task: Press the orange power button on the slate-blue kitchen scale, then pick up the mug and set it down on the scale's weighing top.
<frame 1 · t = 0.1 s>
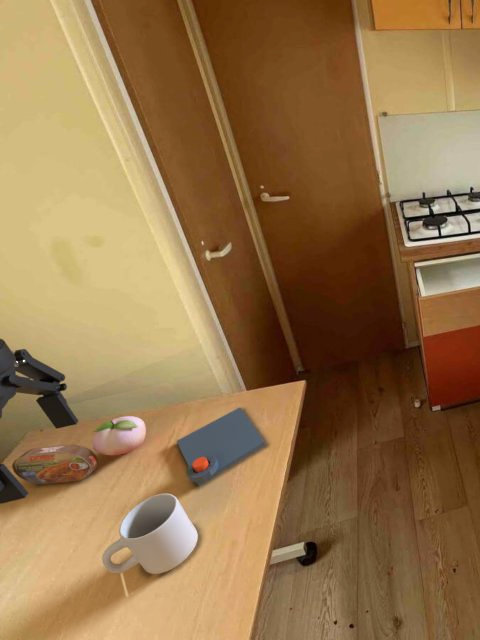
hand: (43, 458, 66), 29 cm above the table, tool pointing down, fingers open, 13 cm apart
scale button: (200, 464, 93), point 4 cm above the table, slide at 0.1 cm
mug: (161, 557, 79), on the table
tin: (66, 476, 94), on the table
scale: (222, 445, 101), on the table
decorative fruit: (130, 450, 100), on the table
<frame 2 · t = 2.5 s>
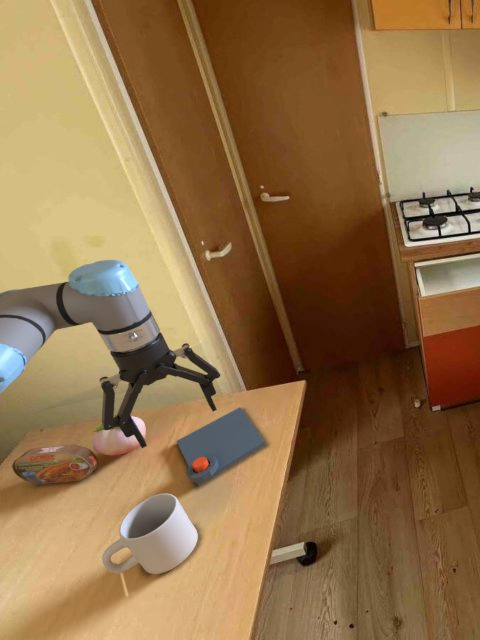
hand: (179, 424, 87), 16 cm above the table, tool pointing down, fingers open, 11 cm apart
nothing on the table moved.
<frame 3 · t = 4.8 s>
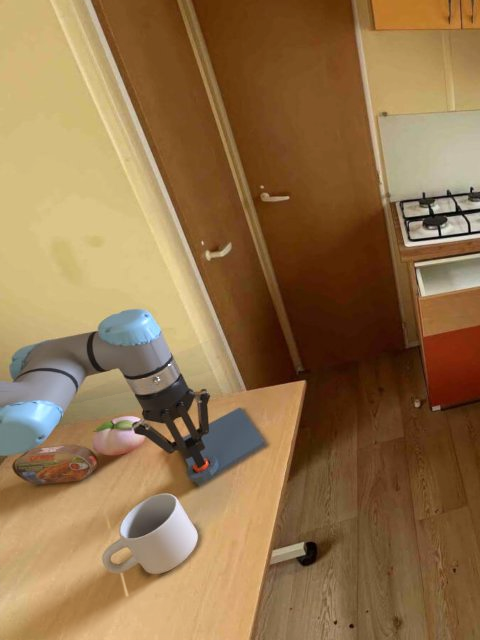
hand: (200, 462, 92), 4 cm above the table, tool pointing down, fingers closed
scale button: (201, 465, 93), point 3 cm above the table, slide at -0.3 cm, touching gripper
everything else where it was.
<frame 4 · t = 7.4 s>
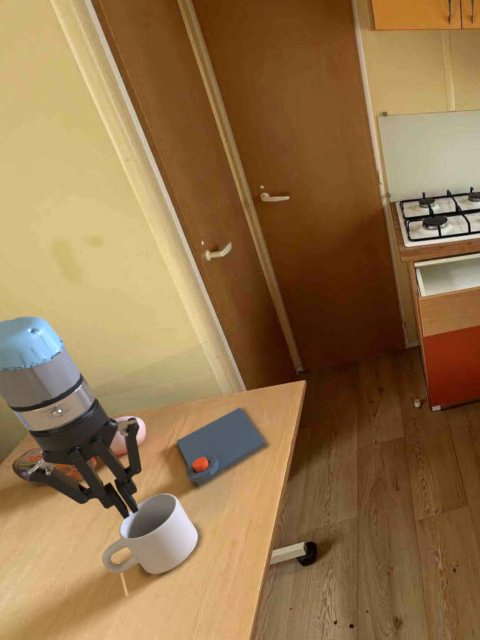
hand: (129, 509, 73), 14 cm above the table, tool pointing down, fingers closed
scale button: (200, 464, 93), point 4 cm above the table, slide at 0.1 cm
everything else where it was.
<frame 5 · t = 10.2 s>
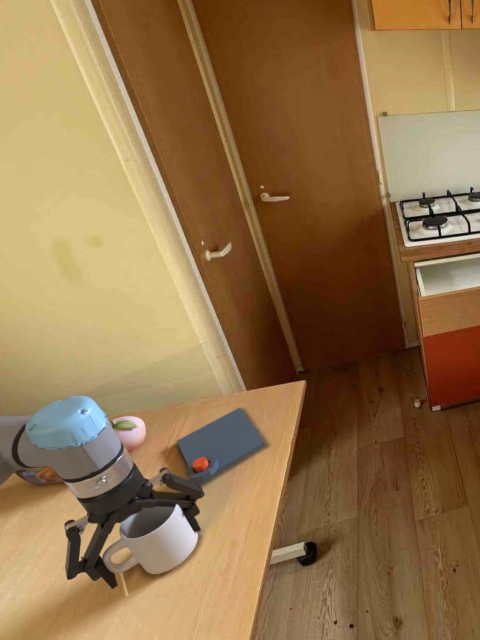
hand: (157, 552, 79), 2 cm above the table, tool pointing down, fingers closed on mug, 12 cm apart
mug: (161, 557, 79), on the table, touching gripper
everything else where it was.
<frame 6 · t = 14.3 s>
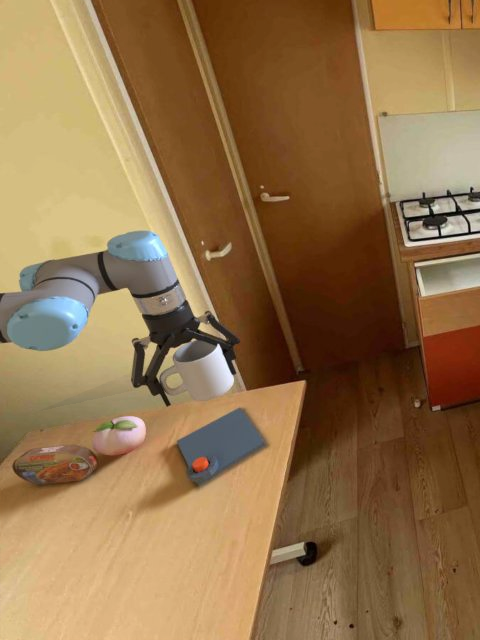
hand: (201, 386, 94), 18 cm above the table, tool pointing down, fingers closed on mug, 12 cm apart
mug: (204, 392, 95), point 16 cm above the table, touching gripper
everything else where it was.
when the fingers open (3 cm above the table, at t = 18.5 s): mug stays where it is, resting on scale.
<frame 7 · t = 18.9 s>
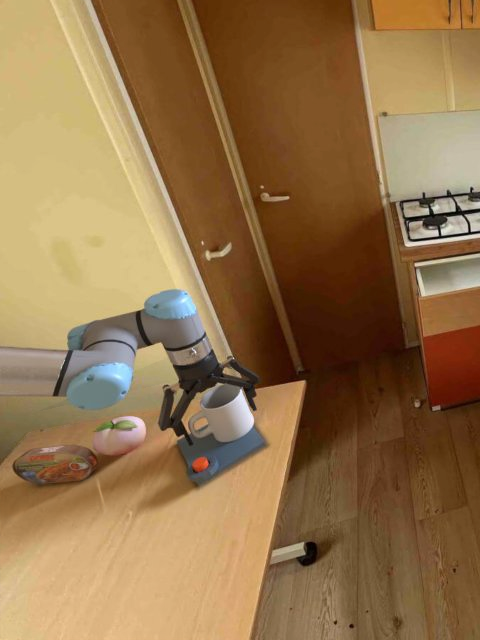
hand: (223, 424, 101), 4 cm above the table, tool pointing down, fingers open, 13 cm apart
mug: (227, 433, 103), point 1 cm above the table, touching scale
everything else where it was.
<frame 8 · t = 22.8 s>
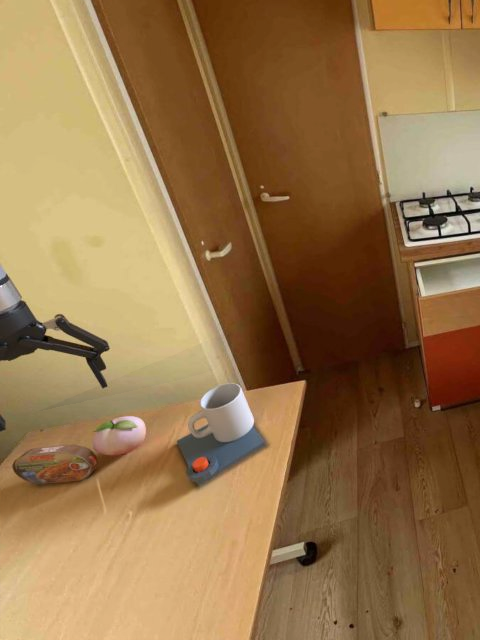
hand: (56, 404, 78), 27 cm above the table, tool pointing down, fingers open, 13 cm apart
nothing on the table moved.
at the end: scale button pushed in 0.8 cm at the most during the clip, back to where it started at the end; mug touching scale; mug inside the target area on the scale (1.8 cm from its centre), point 1.2 cm above the scale's base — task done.
